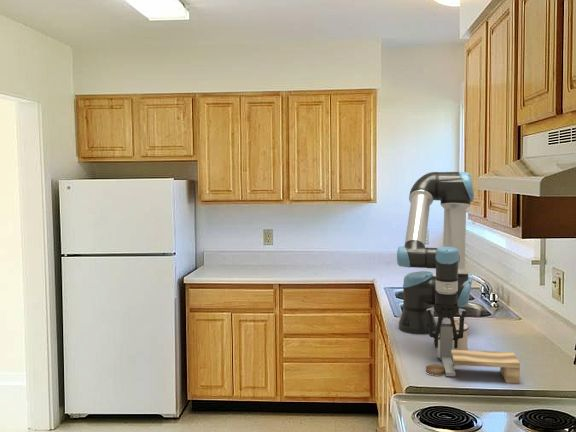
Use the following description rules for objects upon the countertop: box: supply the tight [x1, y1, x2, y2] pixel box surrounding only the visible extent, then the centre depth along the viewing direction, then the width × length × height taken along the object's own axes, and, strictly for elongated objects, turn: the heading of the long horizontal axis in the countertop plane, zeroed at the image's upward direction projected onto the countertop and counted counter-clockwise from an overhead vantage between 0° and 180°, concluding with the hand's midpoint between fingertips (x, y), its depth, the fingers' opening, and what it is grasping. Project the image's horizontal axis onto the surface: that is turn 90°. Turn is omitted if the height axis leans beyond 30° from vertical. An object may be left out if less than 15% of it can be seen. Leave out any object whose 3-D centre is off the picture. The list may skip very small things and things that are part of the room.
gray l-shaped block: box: [439, 322, 456, 377], centre depth 198 cm, size 18×4×12 cm, turn 171°
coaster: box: [425, 363, 445, 376], centre depth 194 cm, size 6×6×2 cm
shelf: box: [451, 349, 521, 384], centre depth 191 cm, size 10×20×6 cm, turn 80°
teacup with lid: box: [433, 317, 469, 350], centre depth 215 cm, size 12×9×12 cm
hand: (445, 356), depth 206 cm, fingers closed on gray l-shaped block, 4 cm apart
